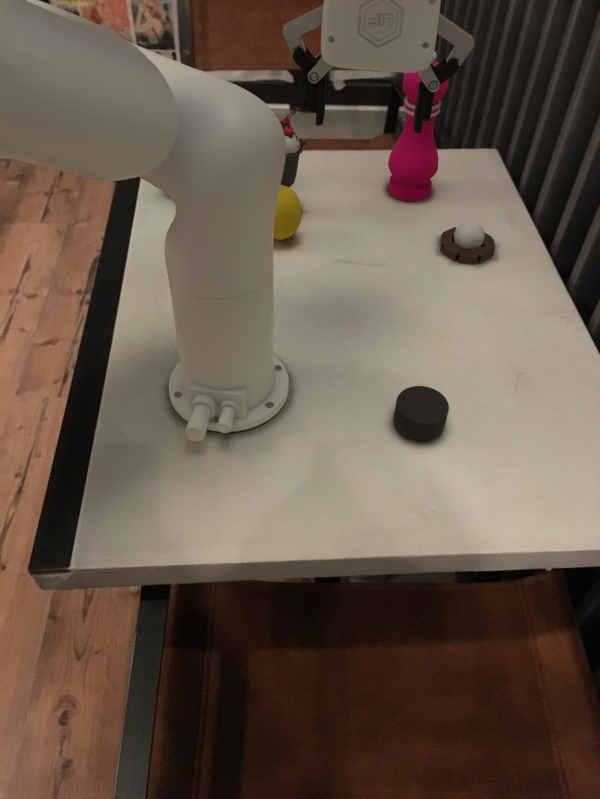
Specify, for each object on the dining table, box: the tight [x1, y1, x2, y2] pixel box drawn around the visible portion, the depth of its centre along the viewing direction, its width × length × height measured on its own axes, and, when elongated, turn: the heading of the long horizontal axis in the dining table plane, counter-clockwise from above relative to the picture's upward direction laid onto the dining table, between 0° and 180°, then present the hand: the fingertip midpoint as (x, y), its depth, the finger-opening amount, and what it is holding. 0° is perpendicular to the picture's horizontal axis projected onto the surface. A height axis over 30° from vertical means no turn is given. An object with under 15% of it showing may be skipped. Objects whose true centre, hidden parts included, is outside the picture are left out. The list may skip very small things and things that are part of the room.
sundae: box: [279, 109, 308, 189], centre depth 92 cm, size 7×7×15 cm
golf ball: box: [454, 219, 486, 251], centre depth 91 cm, size 4×4×4 cm
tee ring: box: [439, 226, 496, 265], centre depth 92 cm, size 7×7×1 cm
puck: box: [392, 385, 450, 442], centre depth 69 cm, size 5×5×3 cm
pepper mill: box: [387, 50, 450, 203], centre depth 95 cm, size 7×7×20 cm
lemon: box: [273, 185, 302, 241], centre depth 90 cm, size 6×6×8 cm
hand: (368, 123), depth 68 cm, fingers open, 9 cm apart
